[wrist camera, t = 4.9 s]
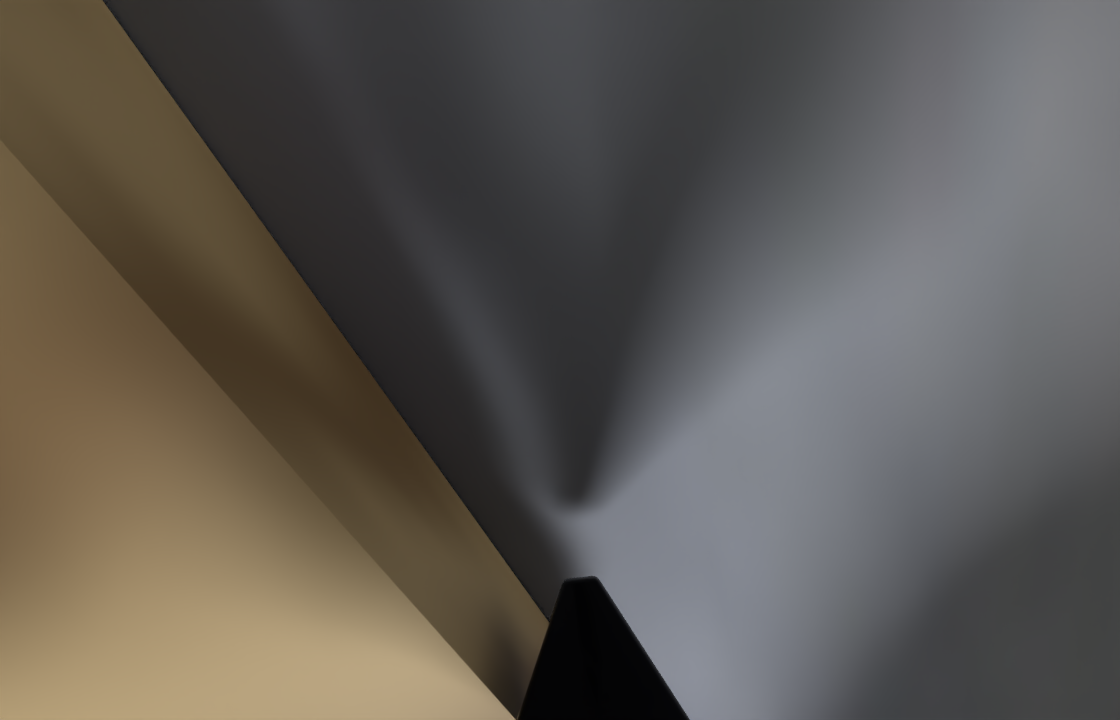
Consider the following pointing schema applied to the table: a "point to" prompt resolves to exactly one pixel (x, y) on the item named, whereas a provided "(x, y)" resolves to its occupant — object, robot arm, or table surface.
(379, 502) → the plank
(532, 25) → the table surface
